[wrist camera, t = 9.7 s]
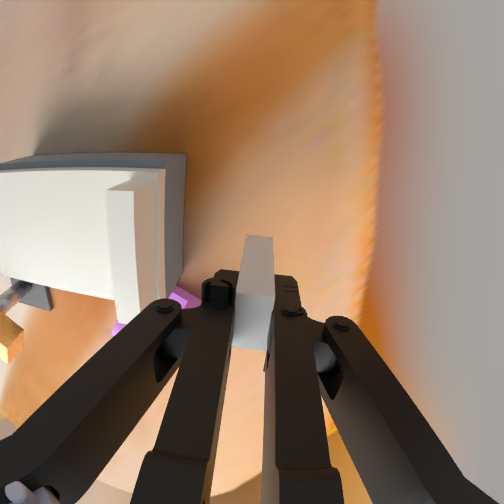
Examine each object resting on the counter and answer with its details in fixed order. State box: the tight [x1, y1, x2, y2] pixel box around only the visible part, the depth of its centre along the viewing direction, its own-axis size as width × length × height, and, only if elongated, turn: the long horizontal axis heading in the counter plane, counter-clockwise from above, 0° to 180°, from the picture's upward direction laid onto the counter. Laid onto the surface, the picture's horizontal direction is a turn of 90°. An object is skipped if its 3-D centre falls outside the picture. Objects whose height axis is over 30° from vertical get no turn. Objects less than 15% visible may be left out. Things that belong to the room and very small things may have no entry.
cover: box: [0, 167, 166, 325], centre depth 17 cm, size 16×9×4 cm, turn 84°
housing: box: [0, 152, 187, 311], centre depth 23 cm, size 22×17×5 cm
